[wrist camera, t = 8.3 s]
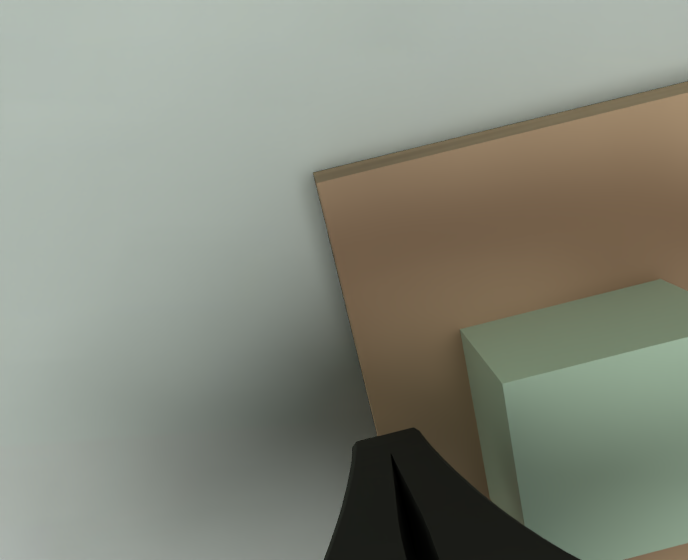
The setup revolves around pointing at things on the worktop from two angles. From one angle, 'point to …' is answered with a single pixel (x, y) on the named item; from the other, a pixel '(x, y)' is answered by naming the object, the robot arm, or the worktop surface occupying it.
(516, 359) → the sage tile
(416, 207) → the walnut board
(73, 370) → the worktop surface
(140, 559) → the worktop surface
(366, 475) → the robot arm
